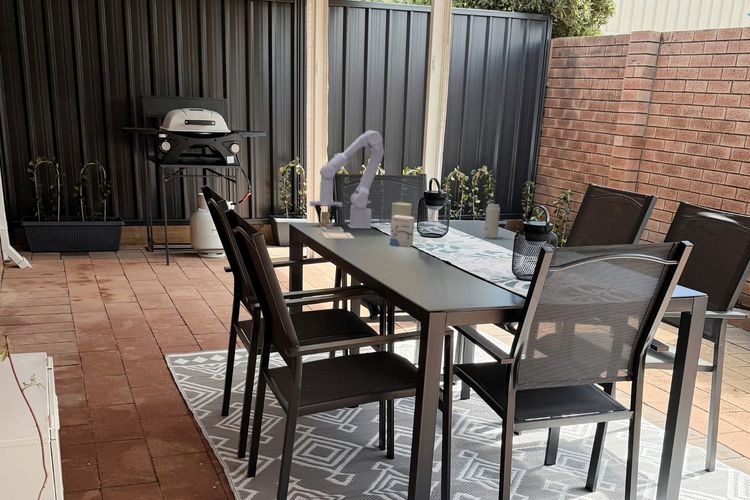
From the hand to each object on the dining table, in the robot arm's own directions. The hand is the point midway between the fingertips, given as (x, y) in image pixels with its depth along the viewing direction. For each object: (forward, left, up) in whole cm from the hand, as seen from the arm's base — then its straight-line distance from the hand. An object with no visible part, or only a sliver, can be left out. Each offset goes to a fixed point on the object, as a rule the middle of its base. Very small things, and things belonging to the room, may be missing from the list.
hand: (325, 222), depth 305 cm
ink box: (-25, +40, -2) cm, 47 cm away
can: (-35, +1, -2) cm, 35 cm away
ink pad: (-2, +10, -2) cm, 10 cm away
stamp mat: (-2, +22, -2) cm, 23 cm away
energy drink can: (-71, +22, -2) cm, 74 cm away
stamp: (0, 0, -2) cm, 2 cm away
